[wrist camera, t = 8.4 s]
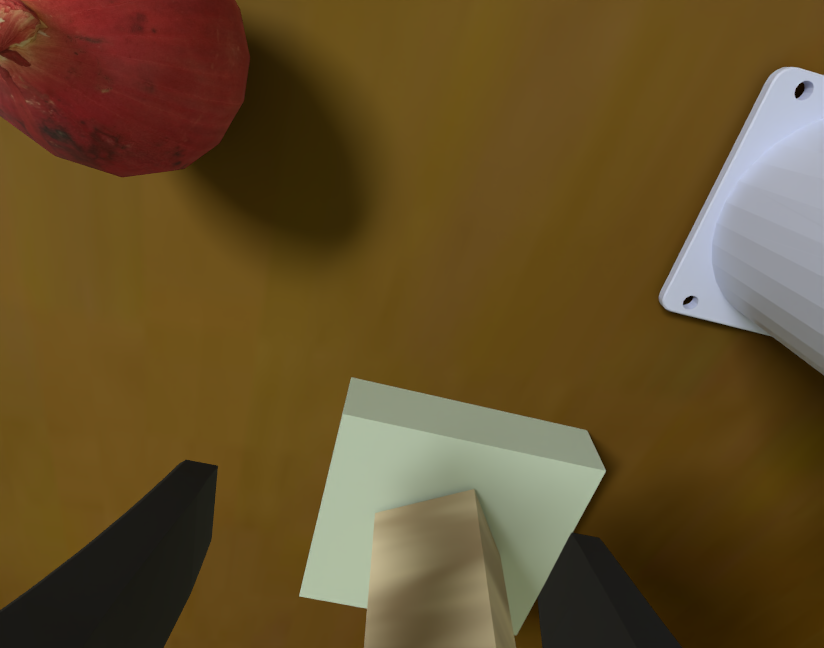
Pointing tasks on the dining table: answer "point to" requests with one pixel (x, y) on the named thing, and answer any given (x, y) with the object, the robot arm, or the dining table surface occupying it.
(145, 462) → the dining table surface
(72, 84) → the onion
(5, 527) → the dining table surface
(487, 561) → the beech block
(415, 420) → the stacking block
